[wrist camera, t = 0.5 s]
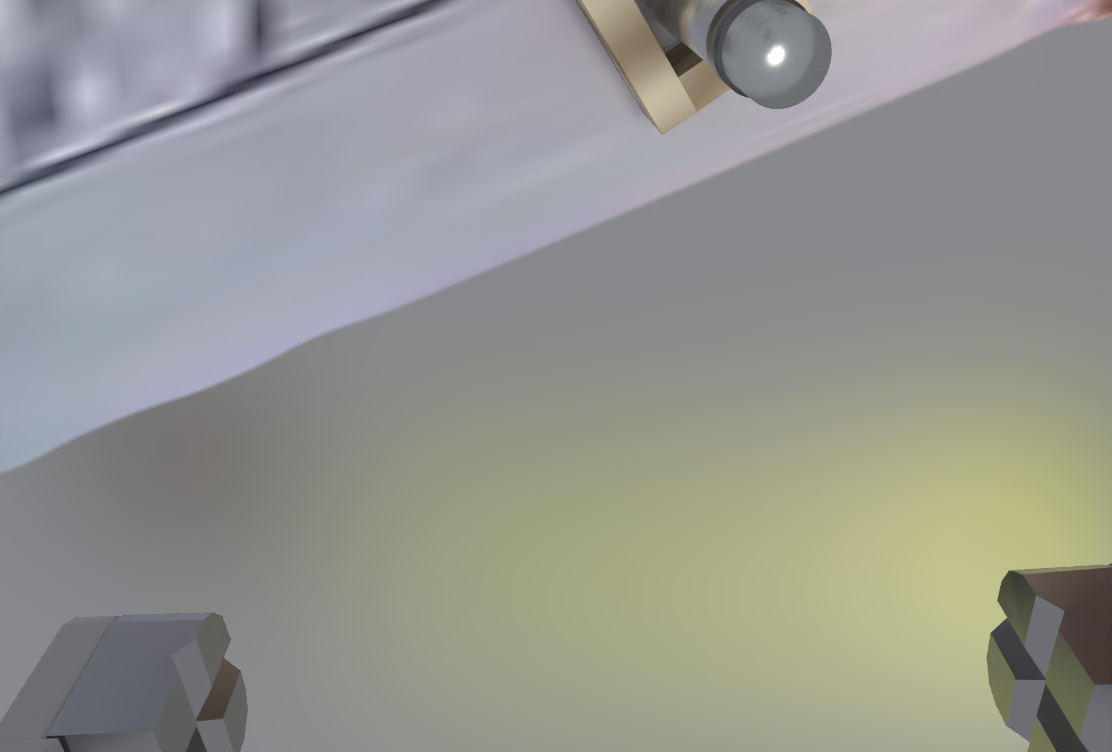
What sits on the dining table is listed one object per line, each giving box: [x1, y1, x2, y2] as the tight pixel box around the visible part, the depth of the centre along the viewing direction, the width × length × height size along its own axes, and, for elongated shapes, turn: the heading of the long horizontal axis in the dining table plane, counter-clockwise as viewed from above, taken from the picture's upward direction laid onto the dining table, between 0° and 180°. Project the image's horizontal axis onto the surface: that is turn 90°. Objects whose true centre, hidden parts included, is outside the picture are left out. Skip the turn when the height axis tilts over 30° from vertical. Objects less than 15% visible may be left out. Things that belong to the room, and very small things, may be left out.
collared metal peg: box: [642, 0, 832, 109], centre depth 46 cm, size 4×4×16 cm
